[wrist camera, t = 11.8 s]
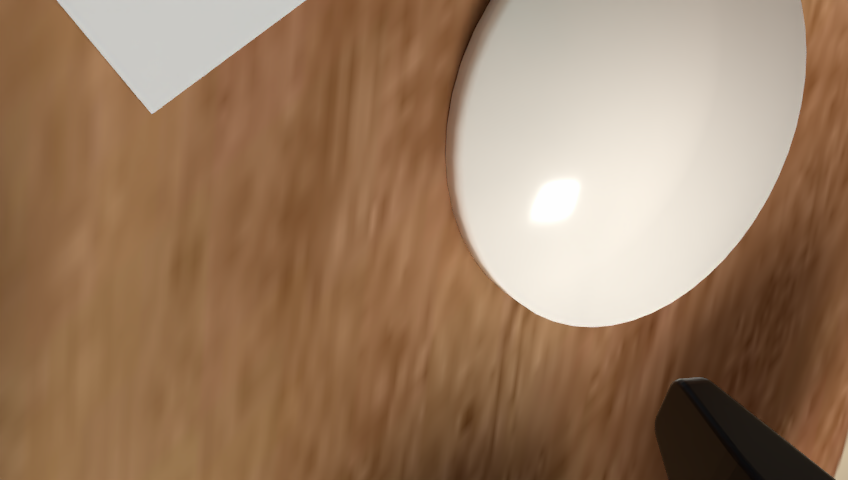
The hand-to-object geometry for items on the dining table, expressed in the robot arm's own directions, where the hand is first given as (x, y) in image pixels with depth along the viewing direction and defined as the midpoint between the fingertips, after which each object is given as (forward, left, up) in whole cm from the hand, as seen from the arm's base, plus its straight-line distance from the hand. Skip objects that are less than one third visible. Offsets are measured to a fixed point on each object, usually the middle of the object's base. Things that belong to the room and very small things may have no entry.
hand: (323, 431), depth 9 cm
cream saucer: (+12, -8, -11) cm, 18 cm away
